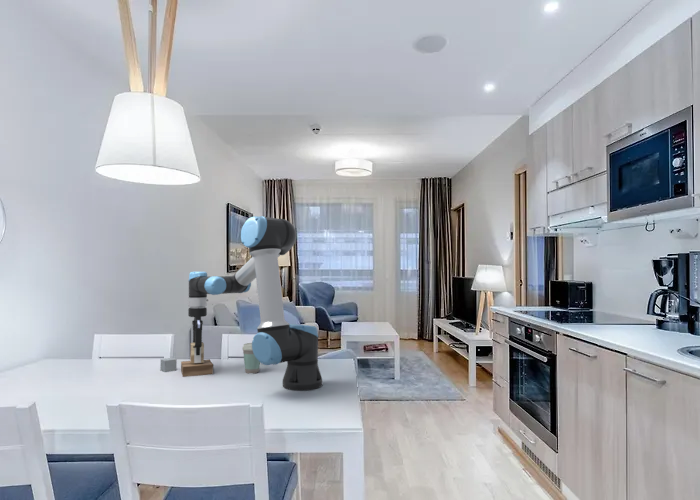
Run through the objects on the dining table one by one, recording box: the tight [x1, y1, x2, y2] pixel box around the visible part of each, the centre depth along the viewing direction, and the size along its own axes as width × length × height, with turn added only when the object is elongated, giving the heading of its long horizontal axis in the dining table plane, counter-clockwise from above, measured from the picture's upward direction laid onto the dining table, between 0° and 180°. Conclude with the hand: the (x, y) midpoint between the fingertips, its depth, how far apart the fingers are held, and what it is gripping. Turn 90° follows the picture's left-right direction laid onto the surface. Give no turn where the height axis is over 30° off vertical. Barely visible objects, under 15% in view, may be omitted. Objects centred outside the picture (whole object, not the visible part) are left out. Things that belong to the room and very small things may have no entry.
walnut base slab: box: [180, 359, 214, 378], centre depth 193 cm, size 12×12×4 cm
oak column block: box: [189, 341, 205, 364], centre depth 193 cm, size 5×5×8 cm
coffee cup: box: [242, 342, 261, 374], centre depth 194 cm, size 8×8×12 cm
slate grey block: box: [160, 357, 178, 373], centre depth 197 cm, size 5×5×5 cm
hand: (196, 361), depth 193 cm, fingers closed on oak column block, 5 cm apart
